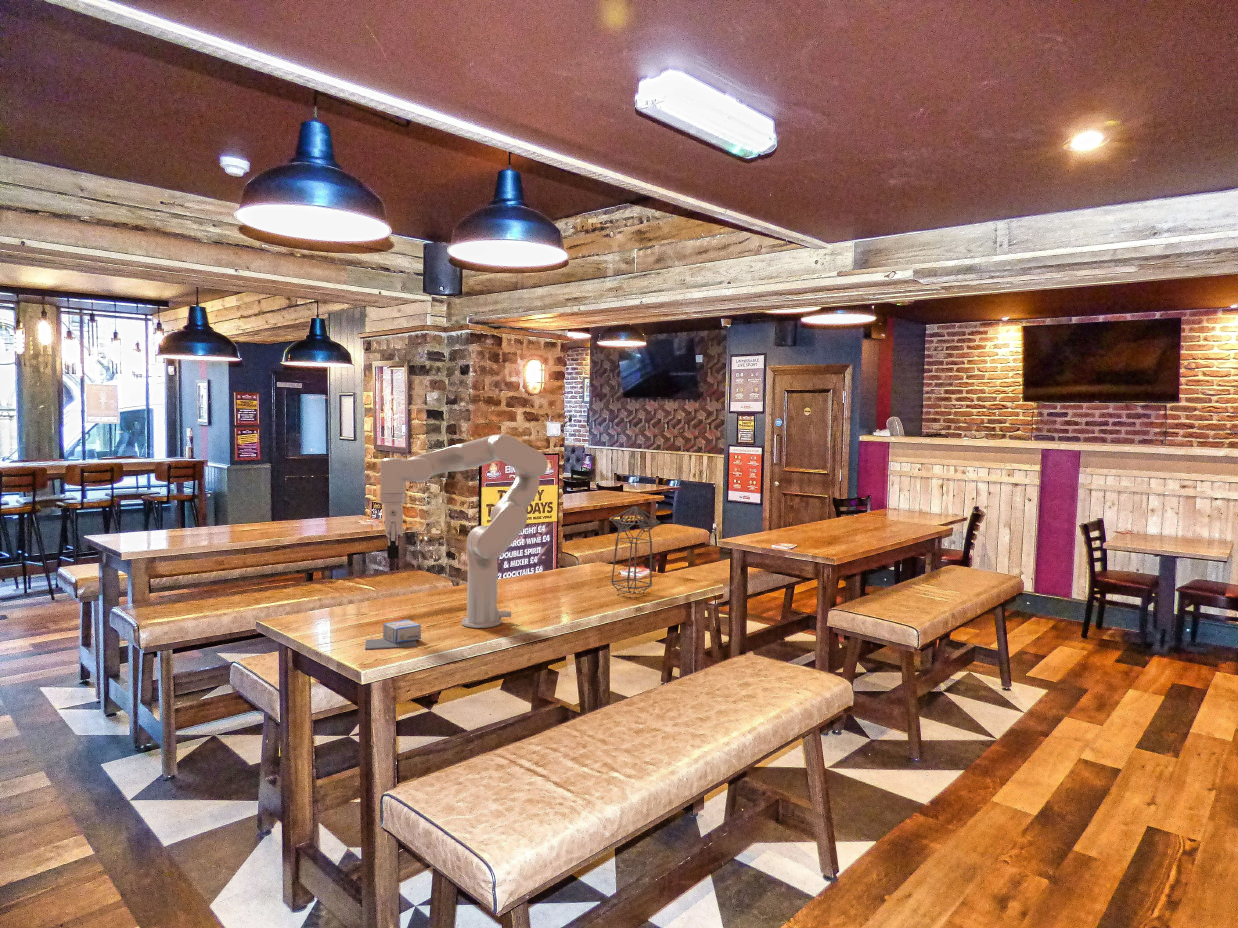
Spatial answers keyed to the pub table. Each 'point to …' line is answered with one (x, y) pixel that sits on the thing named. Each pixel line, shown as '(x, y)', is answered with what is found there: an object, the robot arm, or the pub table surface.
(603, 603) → the pub table surface
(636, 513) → the geometric lantern
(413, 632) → the medicine box
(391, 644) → the charcoal mat
